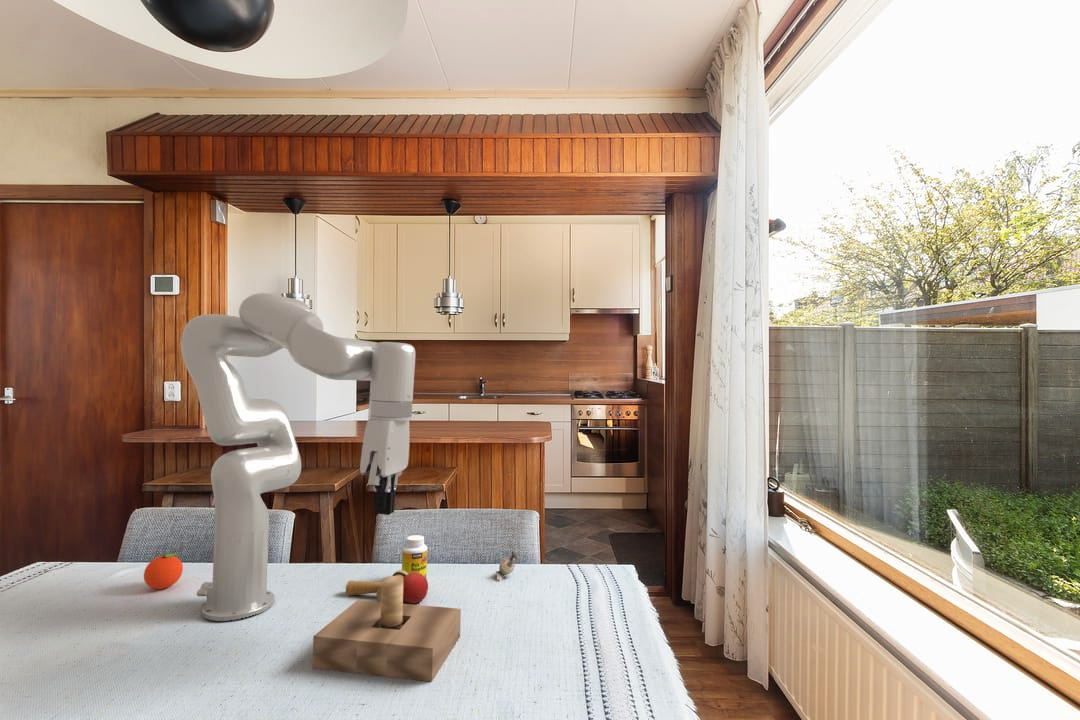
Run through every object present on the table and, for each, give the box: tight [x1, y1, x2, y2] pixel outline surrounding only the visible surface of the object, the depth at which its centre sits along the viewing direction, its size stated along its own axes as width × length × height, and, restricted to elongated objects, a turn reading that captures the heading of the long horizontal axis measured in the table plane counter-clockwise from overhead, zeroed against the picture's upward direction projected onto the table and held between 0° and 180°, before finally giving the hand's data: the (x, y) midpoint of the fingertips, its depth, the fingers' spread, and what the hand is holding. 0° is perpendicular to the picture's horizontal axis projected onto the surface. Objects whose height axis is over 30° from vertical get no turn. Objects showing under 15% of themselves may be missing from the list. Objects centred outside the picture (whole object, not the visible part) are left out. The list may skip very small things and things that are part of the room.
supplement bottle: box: [401, 534, 428, 579], centre depth 117 cm, size 6×6×10 cm
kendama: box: [345, 569, 429, 605], centre depth 108 cm, size 8×6×18 cm
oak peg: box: [380, 575, 404, 630], centre depth 87 cm, size 4×4×12 cm
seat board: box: [311, 599, 462, 682], centre depth 87 cm, size 20×14×5 cm
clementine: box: [143, 553, 185, 590], centre depth 112 cm, size 8×7×7 cm
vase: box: [495, 551, 521, 582], centre depth 121 cm, size 5×5×6 cm
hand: (383, 512), depth 92 cm, fingers closed
